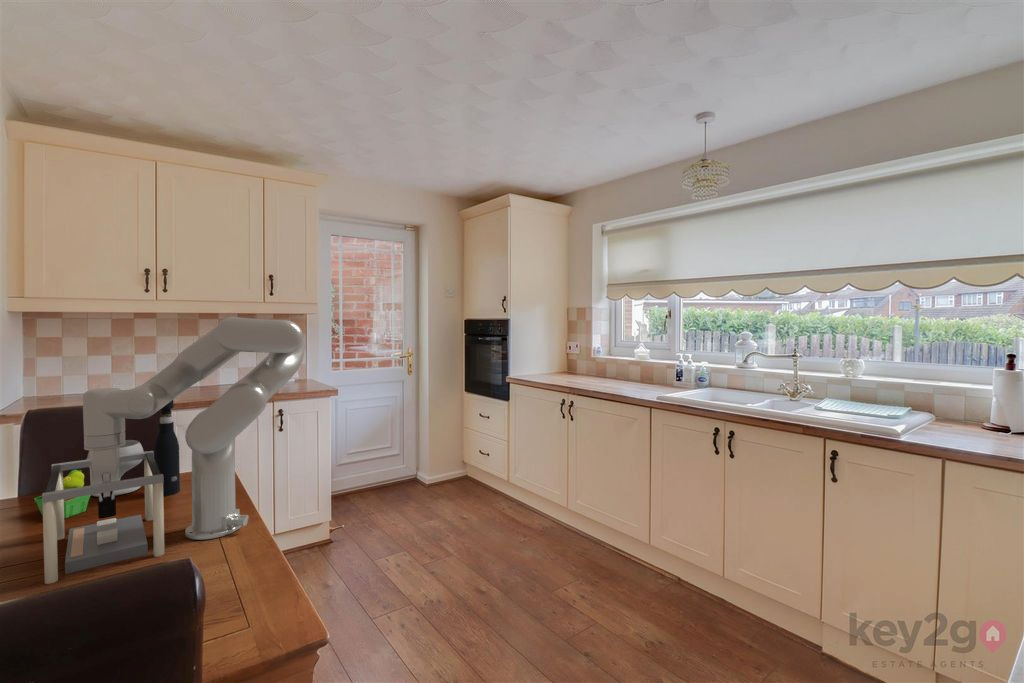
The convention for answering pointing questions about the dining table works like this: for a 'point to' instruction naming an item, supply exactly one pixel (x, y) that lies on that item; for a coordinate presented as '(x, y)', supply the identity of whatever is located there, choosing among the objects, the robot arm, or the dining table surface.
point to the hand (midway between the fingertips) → (107, 516)
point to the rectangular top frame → (104, 487)
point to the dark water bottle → (167, 452)
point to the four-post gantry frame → (84, 538)
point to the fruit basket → (71, 504)
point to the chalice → (126, 463)
